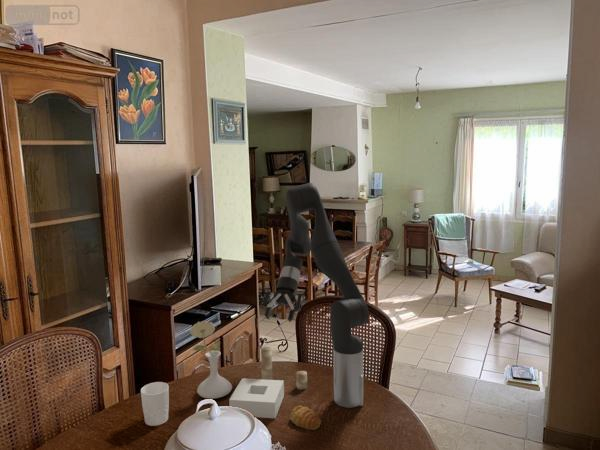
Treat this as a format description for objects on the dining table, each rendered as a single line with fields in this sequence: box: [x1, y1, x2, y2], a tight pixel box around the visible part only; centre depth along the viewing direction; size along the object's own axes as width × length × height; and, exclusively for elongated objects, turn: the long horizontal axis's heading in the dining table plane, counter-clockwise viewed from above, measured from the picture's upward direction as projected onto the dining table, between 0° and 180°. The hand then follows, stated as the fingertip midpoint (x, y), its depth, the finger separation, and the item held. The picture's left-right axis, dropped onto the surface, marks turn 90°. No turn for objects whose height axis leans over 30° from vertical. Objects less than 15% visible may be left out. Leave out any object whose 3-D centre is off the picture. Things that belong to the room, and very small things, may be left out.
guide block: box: [228, 377, 285, 419], centre depth 142 cm, size 14×14×5 cm
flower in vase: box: [189, 320, 233, 400], centre depth 149 cm, size 13×11×25 cm
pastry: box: [289, 405, 322, 431], centre depth 132 cm, size 9×7×4 cm
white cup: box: [140, 381, 170, 427], centre depth 135 cm, size 8×8×10 cm
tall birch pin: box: [260, 346, 273, 380], centre depth 154 cm, size 4×4×13 cm
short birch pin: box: [296, 370, 308, 391], centre depth 153 cm, size 4×4×5 cm
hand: (278, 319), depth 164 cm, fingers open, 8 cm apart
